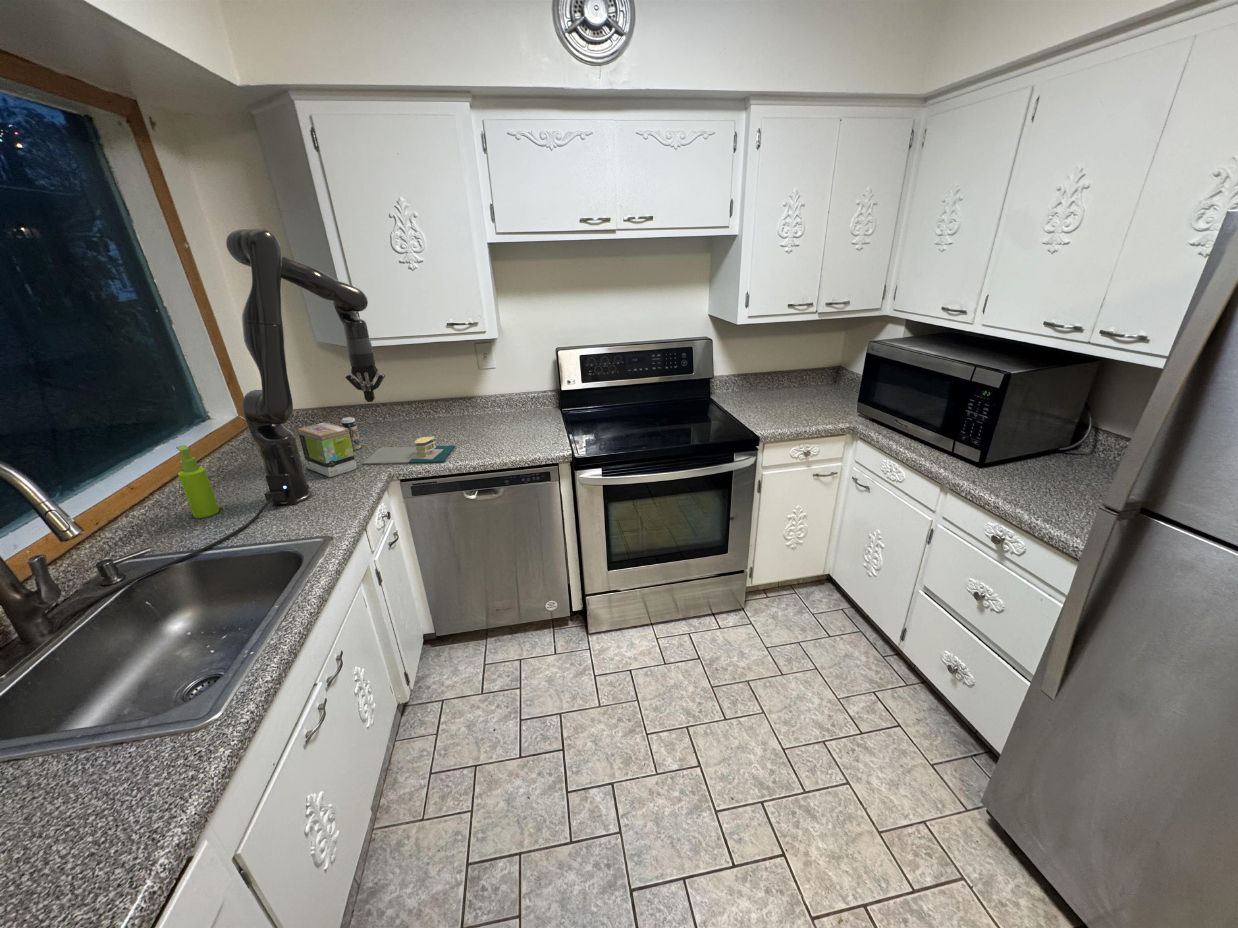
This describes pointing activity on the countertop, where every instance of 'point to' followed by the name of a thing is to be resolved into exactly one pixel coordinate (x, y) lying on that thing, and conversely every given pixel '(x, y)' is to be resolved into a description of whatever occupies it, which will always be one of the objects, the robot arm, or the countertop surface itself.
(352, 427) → the beer can
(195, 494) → the soap dispenser
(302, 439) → the tea box
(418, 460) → the board
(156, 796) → the countertop surface
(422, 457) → the stacked layers on plate
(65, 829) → the countertop surface
